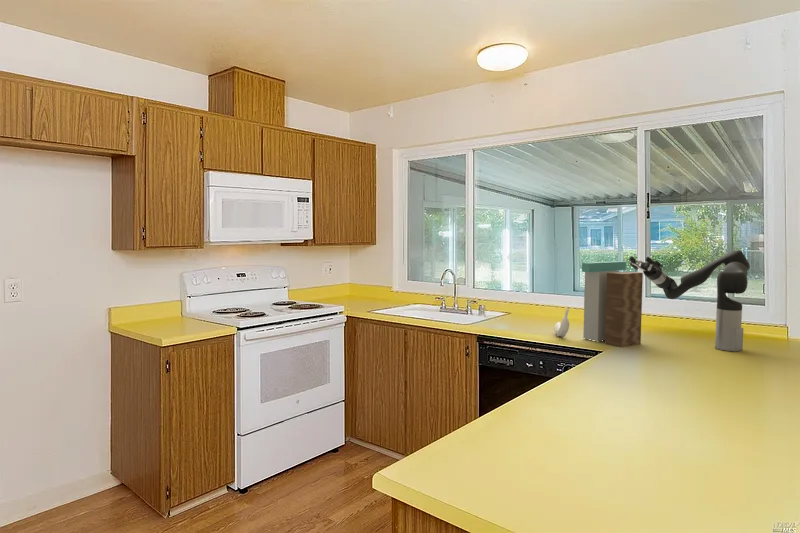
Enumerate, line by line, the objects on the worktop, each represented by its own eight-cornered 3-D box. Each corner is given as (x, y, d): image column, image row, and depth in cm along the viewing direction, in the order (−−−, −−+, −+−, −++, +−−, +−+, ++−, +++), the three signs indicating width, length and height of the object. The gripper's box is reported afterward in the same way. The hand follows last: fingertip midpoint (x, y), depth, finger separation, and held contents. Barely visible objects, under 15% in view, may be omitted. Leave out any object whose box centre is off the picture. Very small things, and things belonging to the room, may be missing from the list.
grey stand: (603, 335, 253) (604, 269, 251) (617, 338, 246) (619, 270, 244) (583, 339, 246) (584, 271, 244) (597, 342, 239) (599, 272, 237)
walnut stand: (624, 340, 243) (626, 271, 241) (640, 343, 236) (642, 272, 234) (605, 343, 236) (606, 272, 234) (620, 347, 229) (622, 274, 227)
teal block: (618, 269, 253) (618, 261, 253) (625, 269, 250) (626, 261, 250) (581, 271, 240) (581, 262, 240) (588, 272, 237) (589, 263, 236)
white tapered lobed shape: (560, 332, 262) (560, 303, 261) (572, 340, 243) (572, 309, 242) (550, 332, 262) (551, 303, 261) (561, 340, 243) (562, 309, 242)
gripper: (666, 281, 257) (649, 265, 249) (639, 279, 269) (622, 264, 261) (671, 267, 259) (654, 251, 251) (644, 266, 271) (627, 251, 263)
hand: (638, 258), depth 256 cm, fingers open, 8 cm apart
